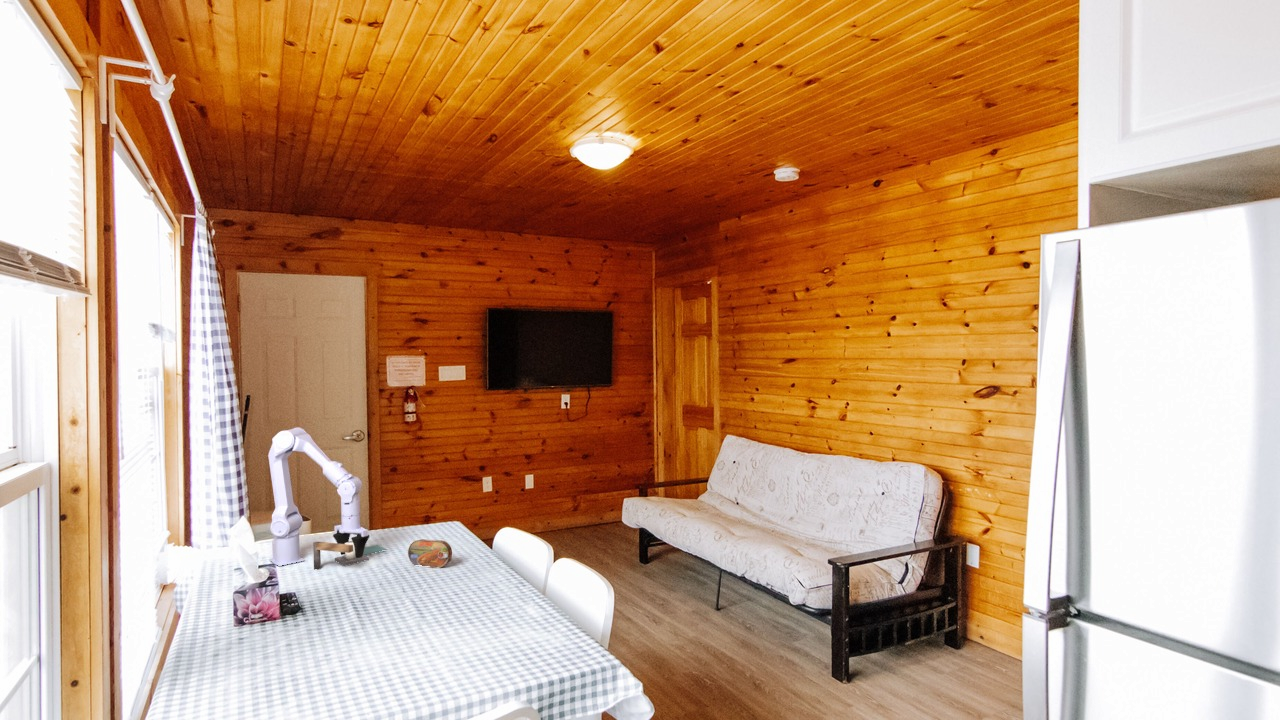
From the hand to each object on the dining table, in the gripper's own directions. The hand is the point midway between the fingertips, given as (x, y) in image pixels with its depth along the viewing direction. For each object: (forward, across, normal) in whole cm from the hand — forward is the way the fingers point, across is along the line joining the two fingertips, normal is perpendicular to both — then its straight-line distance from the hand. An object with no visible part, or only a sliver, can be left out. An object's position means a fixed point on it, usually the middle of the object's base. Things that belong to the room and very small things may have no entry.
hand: (351, 555), depth 225 cm
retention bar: (+2, +3, -9) cm, 10 cm away
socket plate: (+2, 0, 0) cm, 2 cm away
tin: (+2, +28, +8) cm, 29 cm away
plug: (+2, 0, 0) cm, 2 cm away
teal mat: (+2, -4, +10) cm, 11 cm away
